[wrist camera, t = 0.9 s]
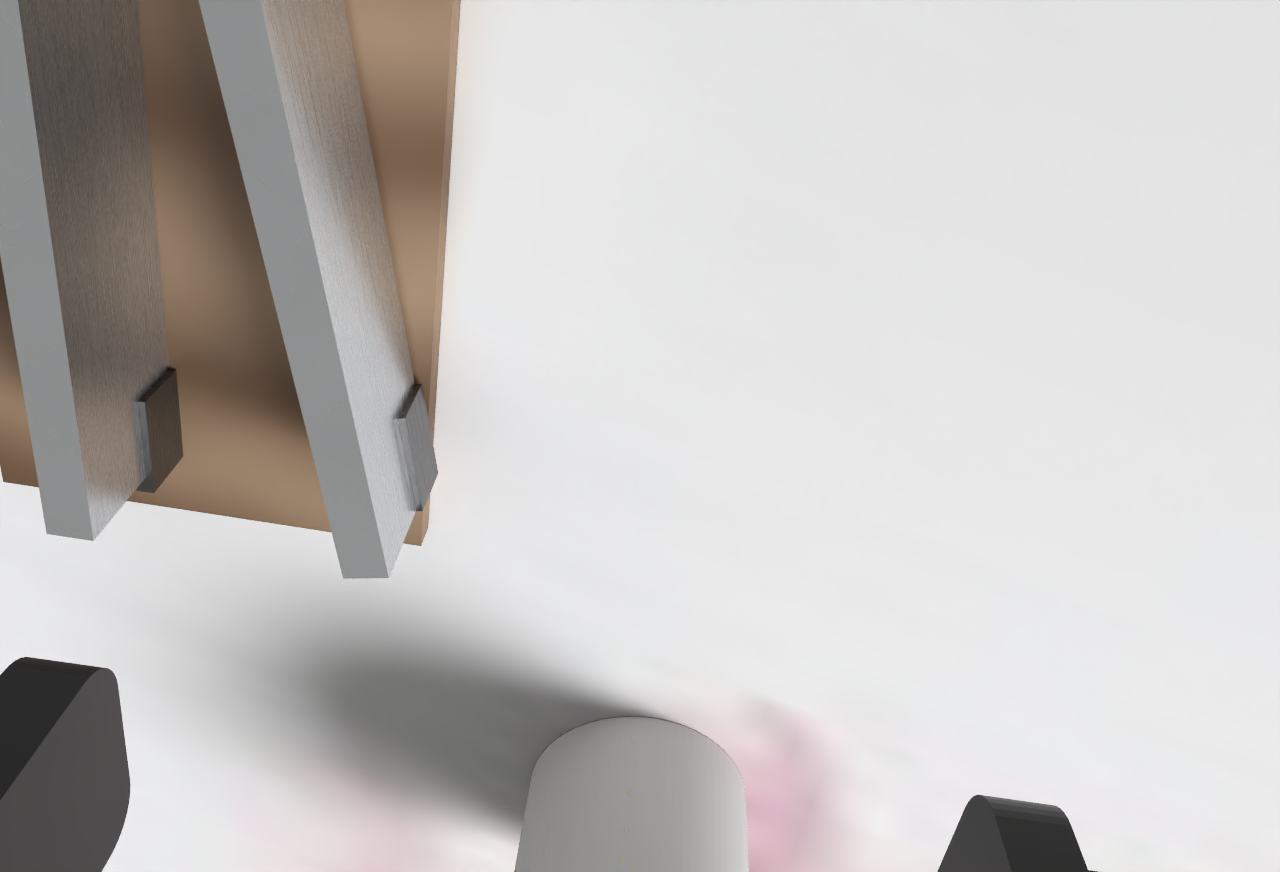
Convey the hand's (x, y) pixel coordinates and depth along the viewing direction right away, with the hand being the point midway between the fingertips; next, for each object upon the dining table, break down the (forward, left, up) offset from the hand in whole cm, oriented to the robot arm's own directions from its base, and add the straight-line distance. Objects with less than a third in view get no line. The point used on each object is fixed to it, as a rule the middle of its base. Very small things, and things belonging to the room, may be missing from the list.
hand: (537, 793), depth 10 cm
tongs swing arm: (0, -7, -19) cm, 21 cm away
